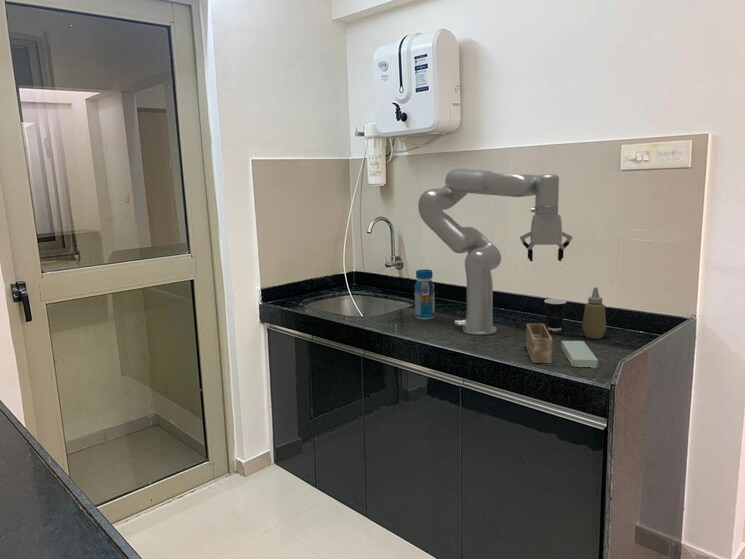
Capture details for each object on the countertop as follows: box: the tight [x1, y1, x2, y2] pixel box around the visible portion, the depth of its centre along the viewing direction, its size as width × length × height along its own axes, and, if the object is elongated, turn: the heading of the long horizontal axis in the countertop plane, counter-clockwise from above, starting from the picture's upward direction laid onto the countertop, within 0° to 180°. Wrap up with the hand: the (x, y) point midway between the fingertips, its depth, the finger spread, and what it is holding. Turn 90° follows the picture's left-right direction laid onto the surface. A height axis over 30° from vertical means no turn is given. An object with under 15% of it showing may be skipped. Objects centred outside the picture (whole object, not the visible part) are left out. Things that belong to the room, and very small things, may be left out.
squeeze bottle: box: [581, 287, 607, 340], centre depth 200 cm, size 8×8×18 cm
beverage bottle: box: [414, 268, 436, 321], centre depth 235 cm, size 8×8×20 cm
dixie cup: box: [544, 298, 567, 332], centre depth 212 cm, size 8×8×11 cm
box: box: [525, 323, 553, 364], centre depth 183 cm, size 6×19×8 cm, turn 171°
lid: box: [560, 340, 599, 369], centre depth 179 cm, size 7×20×2 cm, turn 171°
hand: (545, 260), depth 195 cm, fingers open, 9 cm apart
